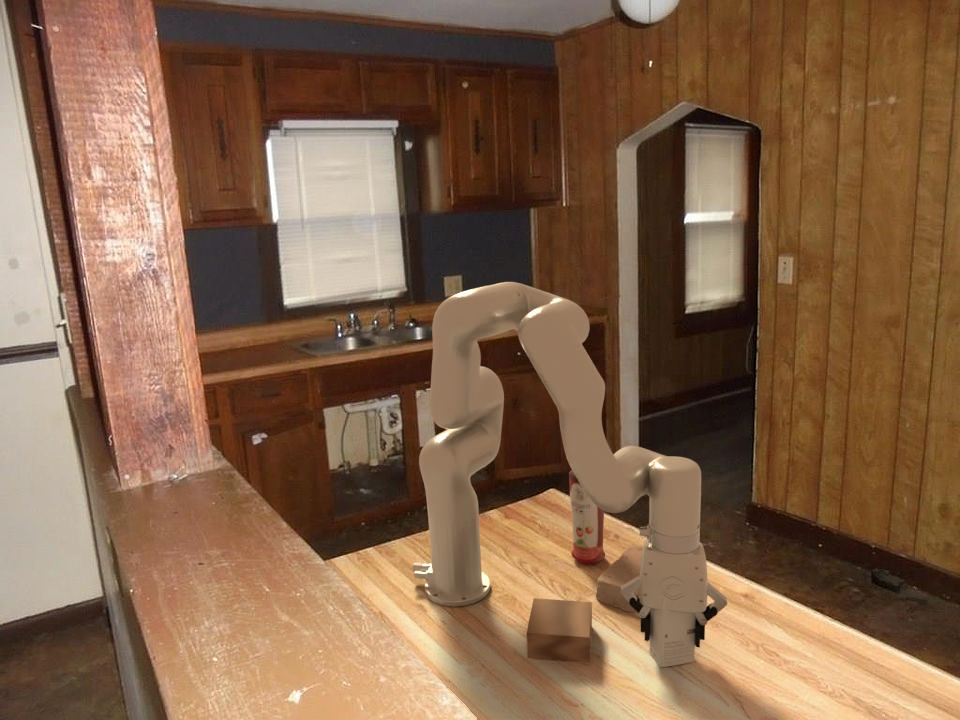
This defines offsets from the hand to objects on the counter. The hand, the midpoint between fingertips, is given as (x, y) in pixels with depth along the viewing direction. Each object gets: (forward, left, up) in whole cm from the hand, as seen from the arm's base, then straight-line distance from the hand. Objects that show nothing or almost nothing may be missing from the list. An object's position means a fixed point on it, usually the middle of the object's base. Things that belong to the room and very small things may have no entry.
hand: (672, 638), depth 111 cm
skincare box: (0, 0, -3) cm, 3 cm away
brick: (-7, +20, -4) cm, 22 cm away
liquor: (-17, +28, -3) cm, 33 cm away
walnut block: (-18, 0, -4) cm, 18 cm away
